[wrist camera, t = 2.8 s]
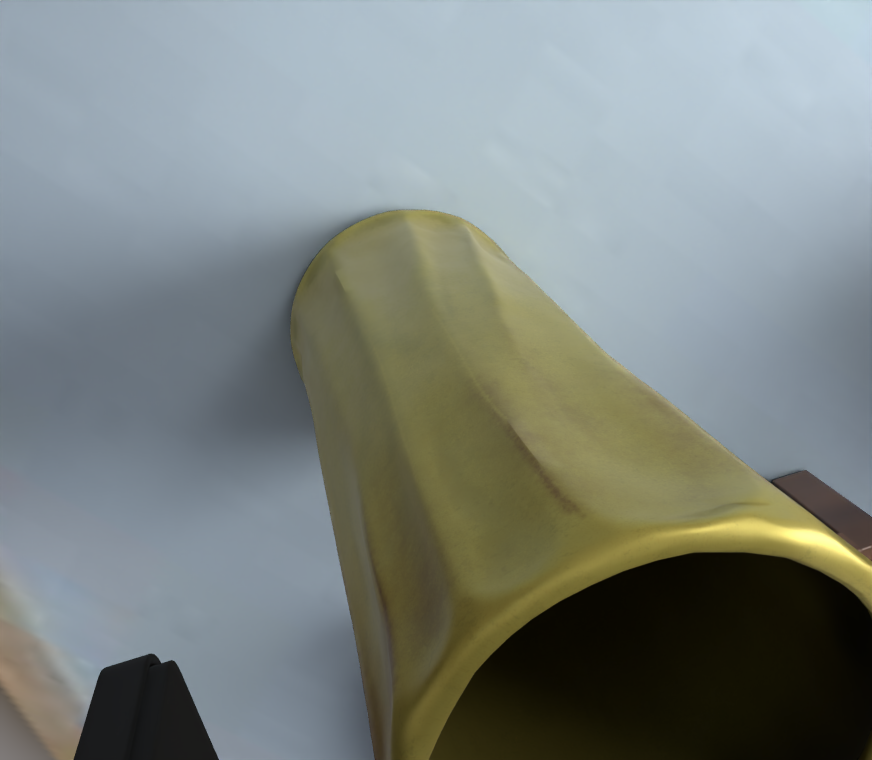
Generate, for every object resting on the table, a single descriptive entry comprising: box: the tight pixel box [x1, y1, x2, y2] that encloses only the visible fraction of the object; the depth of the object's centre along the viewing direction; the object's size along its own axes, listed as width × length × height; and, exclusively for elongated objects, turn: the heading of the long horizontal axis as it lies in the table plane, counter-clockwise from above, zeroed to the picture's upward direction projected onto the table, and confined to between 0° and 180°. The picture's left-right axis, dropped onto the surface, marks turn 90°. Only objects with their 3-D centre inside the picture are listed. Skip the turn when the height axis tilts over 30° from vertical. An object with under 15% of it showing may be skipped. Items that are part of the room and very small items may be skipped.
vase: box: [290, 210, 872, 760], centre depth 14 cm, size 6×6×14 cm
